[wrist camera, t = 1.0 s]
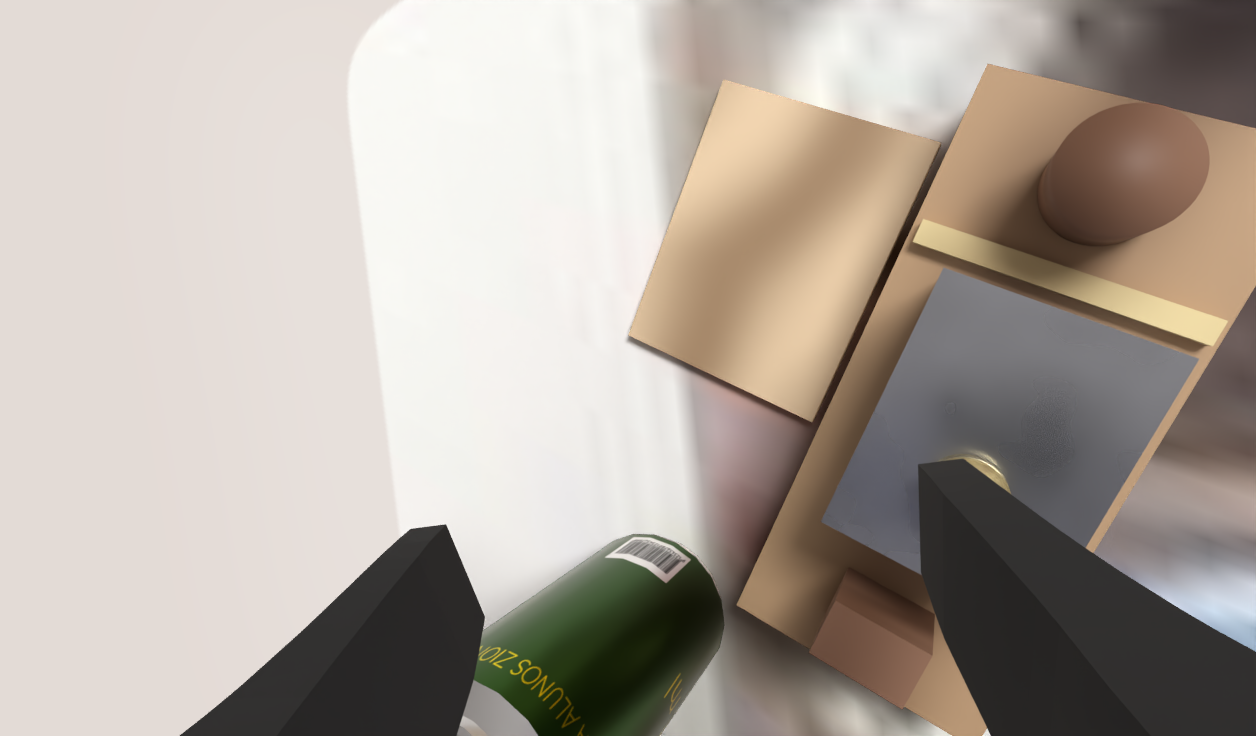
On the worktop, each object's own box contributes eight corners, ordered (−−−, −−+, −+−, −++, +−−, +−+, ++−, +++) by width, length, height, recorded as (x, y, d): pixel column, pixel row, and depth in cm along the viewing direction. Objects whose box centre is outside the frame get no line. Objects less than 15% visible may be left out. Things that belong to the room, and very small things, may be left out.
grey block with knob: (1141, 347, 16) (1211, 360, 11) (1016, 565, 17) (1037, 647, 13) (945, 275, 17) (943, 265, 13) (846, 480, 19) (815, 529, 14)
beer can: (597, 516, 26) (339, 666, 15) (734, 541, 23) (547, 741, 13) (593, 650, 26) (343, 889, 15) (727, 688, 24) (542, 1001, 13)
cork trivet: (941, 145, 20) (940, 142, 19) (814, 420, 22) (811, 422, 21) (727, 82, 22) (723, 79, 22) (632, 335, 24) (628, 335, 24)
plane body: (1275, 175, 17) (1409, 119, 12) (971, 691, 20) (977, 809, 16) (983, 98, 19) (992, 26, 14) (761, 570, 23) (710, 639, 18)
